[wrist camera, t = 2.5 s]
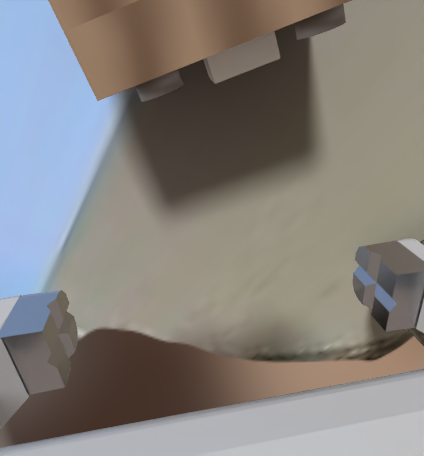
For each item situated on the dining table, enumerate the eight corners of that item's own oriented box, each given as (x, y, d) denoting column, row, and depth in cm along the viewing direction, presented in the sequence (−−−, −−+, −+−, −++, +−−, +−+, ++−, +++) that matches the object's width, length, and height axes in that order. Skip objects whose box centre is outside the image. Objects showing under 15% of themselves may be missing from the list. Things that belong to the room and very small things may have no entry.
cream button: (250, -5, 27) (264, -14, 22) (264, 56, 29) (280, 58, 25) (190, 19, 27) (192, 15, 23) (209, 78, 29) (214, 83, 25)
